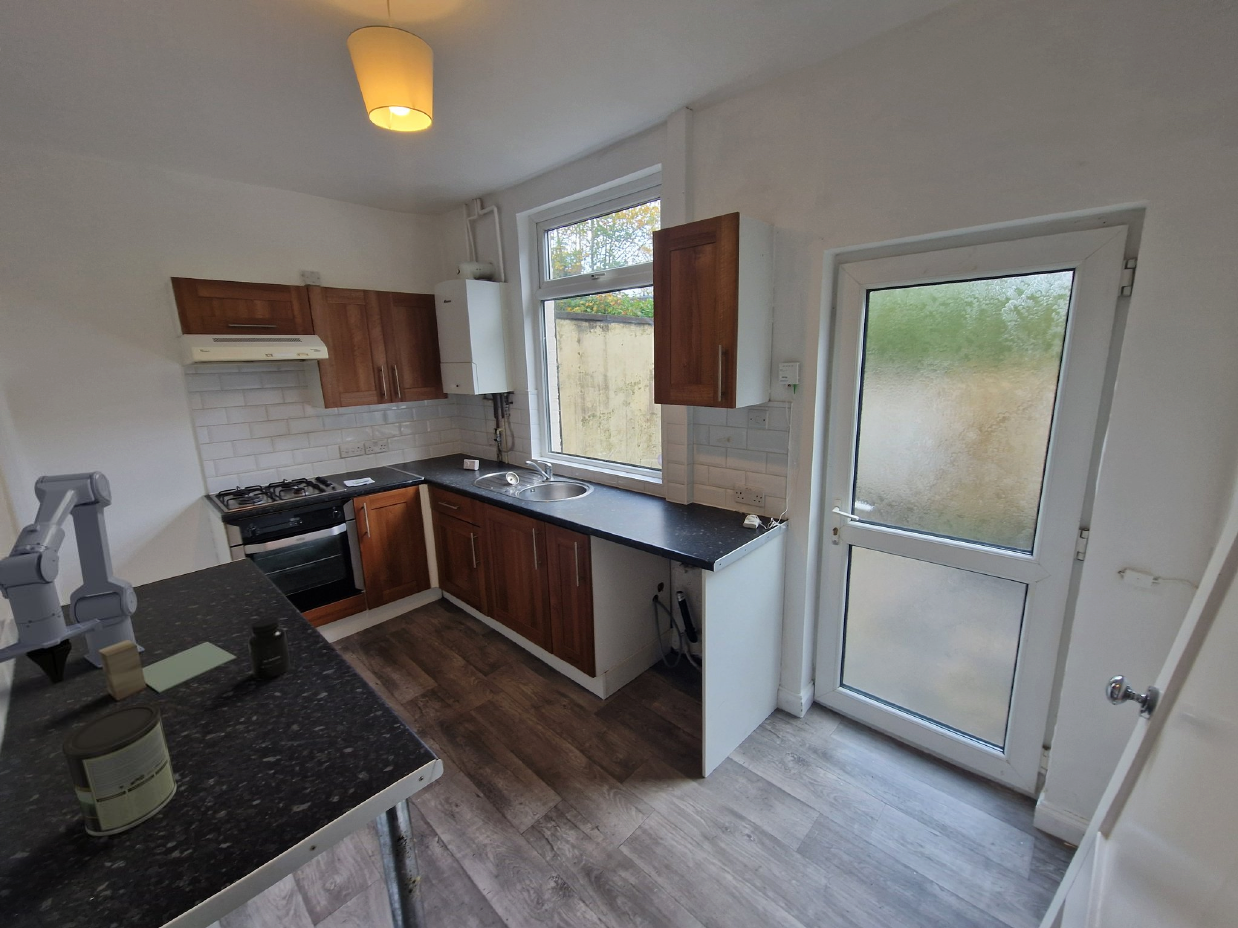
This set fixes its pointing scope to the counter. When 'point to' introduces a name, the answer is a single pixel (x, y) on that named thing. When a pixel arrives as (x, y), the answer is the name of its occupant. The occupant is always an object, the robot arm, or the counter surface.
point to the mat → (185, 666)
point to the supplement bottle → (268, 649)
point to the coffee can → (120, 768)
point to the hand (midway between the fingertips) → (56, 680)
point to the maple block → (122, 669)
